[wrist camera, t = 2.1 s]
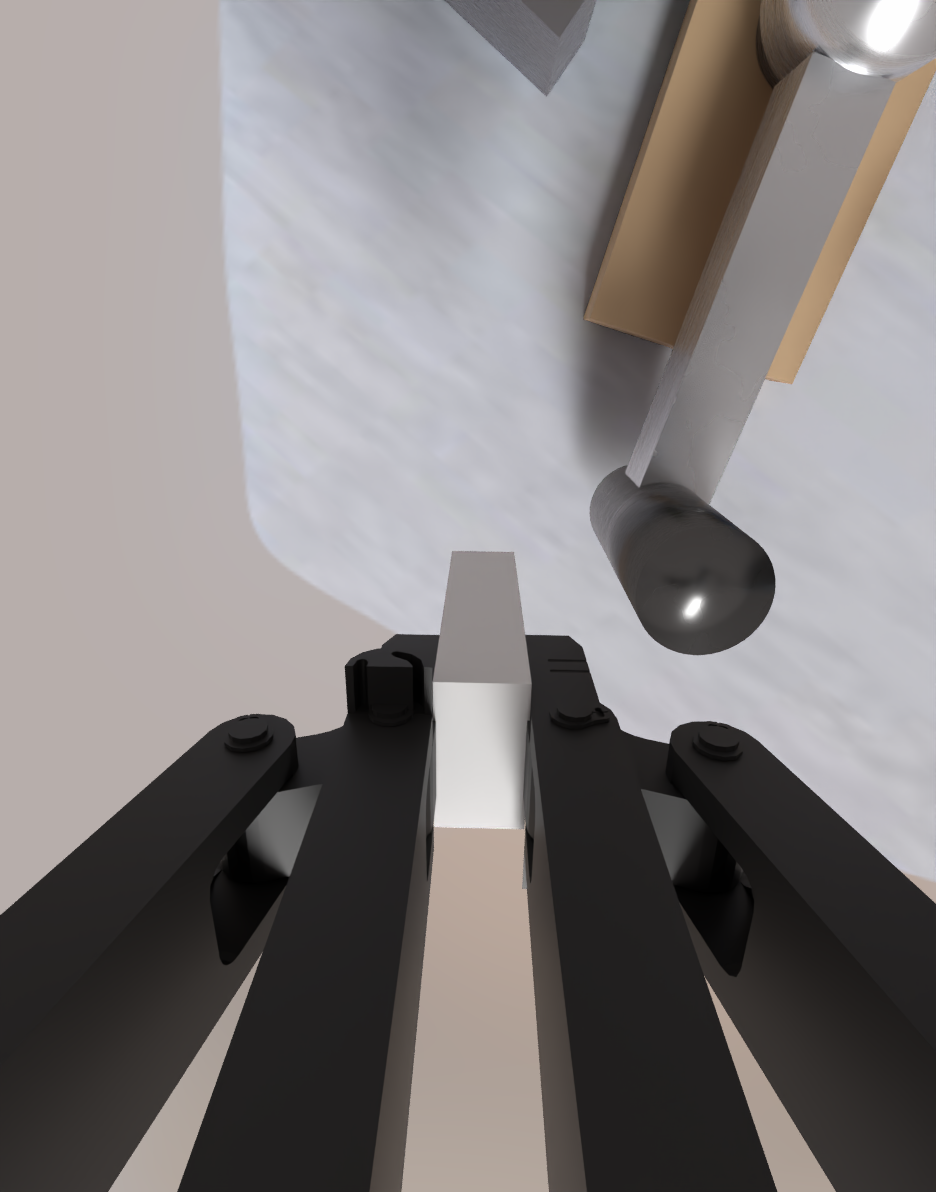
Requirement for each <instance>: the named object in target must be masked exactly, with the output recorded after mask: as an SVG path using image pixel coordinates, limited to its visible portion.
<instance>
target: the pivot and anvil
mask: <svg viewBox="0 0 936 1192" xmlns="http://www.w3.org/2000/svg"><path fill="white" fill-rule="evenodd" d="M445 1H446V2H447V3H448V4H449V5H450V6H451V7H452V8H453V9H454V10H455V11H457V12H458V13H459V14H460V15H461V16H462V17H463V18H464V19H465V20H466V21H467V22H468V23H469V24H470V25H471V26H472V27H473V28H475V29H476V30H477V31H478V32H479V33H480V34H481V35H482V36H483V37H484V38H485V39H486V40H487V41H488V42H489V43H490V44H492V45H493V46H494V47H495V48H496V49H497V50H498V51H499V52H500V53H501V54H502V55H503V56H504V57H505V58H506V59H507V60H508V61H510V62H511V63H512V64H513V65H514V66H515V67H516V68H517V69H518V70H519V71H520V72H521V73H522V74H523V75H524V76H525V77H526V78H528V79H529V80H530V81H531V82H532V83H533V84H534V85H535V86H536V87H537V88H538V89H539V90H540V91H541V92H542V93H543V94H544V95H546V96H547V95H548V94H549V92H550V91H551V89H552V88H553V86H554V85H555V83H556V82H557V80H558V79H559V77H560V76H561V74H562V73H563V71H564V70H565V68H566V67H567V65H568V64H569V62H570V61H571V59H572V58H573V56H574V55H575V53H576V52H577V50H578V49H579V48H580V46H581V45H582V43H583V42H584V39H585V36H586V33H587V29H588V26H589V23H590V20H591V16H592V13H593V10H594V7H595V3H596V0H445ZM756 52H757V59H758V63H759V66H760V69H761V71H762V74H763V76H764V78H765V79H766V81H767V83H768V84H769V85H770V87H771V88H772V89H774V87H775V85H776V84H778V83H779V82H780V81H779V79H778V78H777V77H776V75H775V74H774V72H773V70H772V68H771V66H770V65H769V62H768V60H767V57H766V54H765V51H764V47H763V43H762V38H761V30H760V15H759V19H758V24H757V31H756Z"/></svg>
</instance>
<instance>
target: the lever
mask: <svg viewBox="0 0 936 1192" xmlns="http://www.w3.org/2000/svg"><path fill="white" fill-rule="evenodd" d="M760 30H761V38H762V43H763V47H764V51H765V54H766V57H767V60H768V62H769V65H770V66H771V68H772V70H773V72H774V74H775V75H776V77H777V78H778V79H779V81H780V82H779V83H778V84H776V85H775V87H774V89H773V92H772V94H771V97H770V99H769V102H768V105H767V107H766V110H765V112H764V115H763V118H762V120H761V123H760V125H759V128H758V130H757V133H756V136H755V138H754V141H753V143H752V146H751V149H750V151H749V154H748V156H747V159H746V161H745V164H744V167H743V169H742V172H741V174H740V177H739V180H738V182H737V185H736V187H735V190H734V192H733V195H732V198H731V200H730V203H729V205H728V208H727V210H726V213H725V216H724V218H723V221H722V223H721V226H720V229H719V231H718V234H717V236H716V239H715V241H714V244H713V247H712V249H711V252H710V254H709V257H708V260H707V262H706V265H705V267H704V270H703V272H702V275H701V278H700V280H699V283H698V285H697V288H696V290H695V293H694V296H693V298H692V301H691V303H690V306H689V309H688V311H687V314H686V316H685V319H684V321H683V324H682V327H681V329H680V332H679V334H678V337H677V340H676V342H675V345H674V347H673V350H672V352H671V355H670V358H669V360H668V363H667V365H666V368H665V370H664V373H663V376H662V378H661V381H660V383H659V386H658V389H657V391H656V394H655V396H654V399H653V401H652V404H651V407H650V409H649V412H648V414H647V417H646V420H645V422H644V425H643V427H642V430H641V432H640V435H639V438H638V440H637V443H636V445H635V448H634V451H633V453H632V456H631V458H630V461H629V463H628V465H626V466H623V467H621V468H618V469H616V470H615V471H613V472H612V473H610V474H609V475H608V476H606V477H605V478H604V479H603V480H602V482H601V483H600V484H599V485H598V487H597V489H596V490H595V492H594V495H593V497H592V500H591V505H590V520H591V524H592V527H593V530H594V532H595V534H596V536H597V538H598V540H599V542H600V544H601V546H602V548H603V549H604V551H605V553H606V555H607V557H608V559H609V561H610V563H611V565H612V567H613V569H614V571H615V573H616V575H617V577H618V579H619V581H620V583H621V584H622V586H623V588H624V590H625V592H626V594H627V596H628V598H629V600H630V602H631V604H632V606H633V608H634V610H635V612H636V614H637V616H638V618H639V619H640V621H641V623H642V625H643V627H644V628H645V630H646V631H647V632H648V634H649V635H650V636H651V637H652V638H653V639H654V640H655V641H657V642H658V643H659V644H661V645H662V646H664V647H666V648H668V649H670V650H673V651H676V652H679V653H683V654H690V655H706V654H713V653H717V652H721V651H723V650H726V649H729V648H731V647H733V646H735V645H737V644H739V643H740V642H742V641H743V640H745V639H746V638H747V637H749V636H750V635H751V634H752V633H753V632H754V631H755V630H756V629H757V628H758V627H759V626H760V624H761V623H762V622H763V620H764V619H765V617H766V616H767V614H768V612H769V610H770V607H771V605H772V602H773V598H774V594H775V574H774V569H773V566H772V563H771V561H770V559H769V557H768V555H767V554H766V552H765V551H764V549H763V548H762V547H761V546H760V545H759V544H758V543H757V542H756V541H755V540H753V539H752V538H751V537H749V536H748V535H747V534H746V533H744V532H743V531H742V530H740V529H739V528H738V527H737V526H735V525H734V524H733V523H732V522H730V521H729V520H728V519H726V518H725V517H724V516H723V515H721V514H720V513H719V512H718V511H716V510H715V509H714V508H712V507H711V506H710V505H709V504H710V502H711V499H712V497H713V495H714V493H715V490H716V488H717V486H718V484H719V481H720V479H721V477H722V475H723V472H724V470H725V468H726V466H727V463H728V461H729V459H730V456H731V454H732V452H733V450H734V447H735V445H736V443H737V441H738V438H739V436H740V434H741V432H742V429H743V427H744V425H745V423H746V420H747V418H748V416H749V414H750V411H751V409H752V407H753V405H754V402H755V400H756V398H757V395H758V393H759V391H760V389H761V386H762V384H763V382H764V380H765V377H766V375H767V373H768V371H769V368H770V366H771V364H772V362H773V359H774V357H775V355H776V353H777V350H778V348H779V346H780V344H781V341H782V339H783V337H784V334H785V332H786V330H787V328H788V325H789V323H790V321H791V319H792V316H793V314H794V312H795V310H796V307H797V305H798V303H799V301H800V298H801V296H802V294H803V292H804V289H805V287H806V285H807V283H808V280H809V278H810V276H811V274H812V271H813V269H814V267H815V264H816V262H817V260H818V258H819V255H820V253H821V251H822V249H823V246H824V244H825V242H826V240H827V237H828V235H829V233H830V231H831V228H832V226H833V224H834V222H835V219H836V217H837V215H838V213H839V210H840V208H841V206H842V203H843V201H844V199H845V197H846V194H847V192H848V190H849V188H850V185H851V183H852V181H853V179H854V176H855V174H856V172H857V170H858V167H859V165H860V163H861V161H862V158H863V156H864V154H865V152H866V149H867V147H868V145H869V142H870V140H871V138H872V136H873V133H874V131H875V129H876V127H877V124H878V122H879V120H880V118H881V115H882V113H883V111H884V109H885V106H886V104H887V102H888V100H889V97H890V95H891V93H892V91H893V88H894V86H895V84H896V83H897V82H899V81H900V80H902V79H903V78H905V77H907V76H908V75H910V74H911V73H913V72H914V71H916V70H918V69H919V68H921V67H922V66H924V65H926V64H927V63H929V62H930V61H932V60H934V59H935V58H936V0H761V5H760Z"/></svg>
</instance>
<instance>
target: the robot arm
mask: <svg viewBox="0 0 936 1192" xmlns="http://www.w3.org/2000/svg"><path fill="white" fill-rule="evenodd" d="M345 677H346V693H347V709H348V714H347V717H346V720H345V722H344V725H343V726H342V727H340V728H338V729H335V730H332V731H329V732H325V733H321V734H317V735H310V736H304V737H298V738H296V735H295V729H294V726H293V725H292V724H291V723H290V722H289V721H287V720H286V719H284V718H281V717H278V716H275V715H262V714H250V715H244V716H240V717H237V718H235V719H232V720H229V721H226V722H224V723H222V724H220V725H219V726H217V727H216V728H214V729H212V730H211V731H209V732H208V733H207V734H206V735H205V736H204V737H203V738H201V739H200V740H199V741H198V742H197V743H196V744H195V745H194V746H192V747H191V748H190V749H189V750H188V751H187V752H186V753H184V754H183V755H182V756H181V757H180V758H179V759H178V760H176V761H175V762H174V763H173V764H172V765H171V766H170V767H168V768H167V769H166V770H165V771H164V772H163V773H162V774H161V775H159V776H158V777H157V778H156V779H155V780H154V781H153V782H151V784H149V785H148V786H147V787H146V788H145V789H144V790H142V791H141V792H140V793H139V794H138V795H137V796H136V797H134V798H133V799H132V800H131V801H130V802H129V803H128V804H126V805H125V806H124V807H123V808H122V809H121V810H120V811H118V812H117V813H116V814H115V815H114V816H113V817H112V818H110V819H109V820H108V821H107V822H106V823H105V824H104V825H103V826H101V827H100V828H99V829H98V830H97V831H96V832H95V833H93V834H92V835H91V836H90V837H89V838H88V839H87V840H86V841H84V842H83V843H82V844H81V845H80V846H79V847H77V848H76V849H75V850H74V851H73V852H72V853H71V854H70V855H68V856H67V857H66V858H65V859H64V860H63V861H62V862H61V863H59V864H58V865H57V866H56V867H55V868H54V869H52V870H51V871H50V872H49V873H48V874H47V875H46V876H45V877H43V878H42V879H41V880H40V881H39V882H38V883H37V884H35V885H34V886H33V887H32V888H31V889H30V890H29V891H27V892H26V893H25V894H24V895H23V896H22V897H21V898H19V899H18V900H17V901H16V902H15V903H14V904H13V905H12V906H10V907H9V908H8V909H7V910H6V911H5V912H4V913H2V914H1V915H0V1192H108V1191H109V1189H110V1188H111V1186H112V1185H113V1183H114V1181H115V1180H116V1178H117V1177H118V1175H119V1174H120V1172H121V1171H122V1169H123V1168H124V1166H125V1165H126V1163H127V1161H128V1160H129V1158H130V1157H131V1155H132V1154H133V1152H134V1151H135V1149H136V1147H137V1146H138V1144H139V1143H140V1141H141V1139H142V1138H143V1137H144V1135H145V1133H146V1132H147V1130H148V1129H149V1127H150V1125H151V1124H152V1123H153V1121H154V1120H155V1118H156V1116H157V1115H158V1113H159V1112H160V1110H161V1109H162V1107H163V1106H164V1104H165V1102H166V1101H167V1099H168V1098H169V1096H170V1094H171V1093H172V1091H173V1090H174V1088H175V1087H176V1085H177V1084H178V1082H179V1081H180V1079H181V1078H182V1076H183V1074H184V1073H185V1071H186V1069H187V1068H188V1067H189V1065H190V1064H191V1062H192V1061H193V1059H194V1057H195V1056H196V1054H197V1053H198V1051H199V1050H200V1048H201V1047H202V1045H203V1043H204V1042H205V1040H206V1039H207V1037H208V1036H209V1034H210V1032H211V1031H212V1029H213V1028H214V1026H215V1025H216V1023H217V1022H218V1020H219V1018H220V1017H221V1015H222V1014H223V1012H224V1011H225V1009H226V1007H227V1006H228V1005H229V1003H230V1001H231V1000H232V998H233V997H234V995H235V994H236V992H237V991H238V989H239V988H240V986H241V984H242V983H243V981H244V980H245V978H246V977H247V975H248V974H249V972H250V970H251V969H252V967H253V966H254V964H255V963H256V961H257V959H258V958H259V956H260V955H261V953H262V952H263V953H262V956H261V958H260V961H259V964H258V967H257V970H256V973H255V975H254V978H253V981H252V984H251V986H250V989H249V992H248V995H247V998H246V1000H245V1003H244V1006H243V1009H242V1012H241V1014H240V1017H239V1020H238V1023H237V1026H236V1029H235V1031H234V1034H233V1037H232V1040H231V1043H230V1046H229V1048H228V1051H227V1054H226V1057H225V1059H224V1062H223V1065H222V1068H221V1071H220V1073H219V1076H218V1079H217V1082H216V1085H215V1087H214V1090H213V1093H212V1096H211V1099H210V1102H209V1104H208V1107H207V1110H206V1113H205V1116H204V1119H203V1121H202V1124H201V1127H200V1130H199V1132H198V1135H197V1138H196V1141H195V1144H194V1147H193V1149H192V1152H191V1155H190V1158H189V1161H188V1163H187V1166H186V1169H185V1172H184V1175H183V1177H182V1180H181V1183H180V1186H179V1189H178V1191H177V1192H401V1189H402V1179H403V1168H404V1157H405V1147H406V1136H407V1126H408V1115H409V1105H410V1094H411V1084H412V1073H413V1063H414V1052H415V1042H416V1041H415V1040H416V1031H417V1020H418V1010H419V999H420V989H421V978H422V968H423V957H424V947H425V936H426V925H427V915H428V905H429V894H430V884H431V873H432V862H433V852H434V829H433V828H434V827H456V828H496V829H524V824H525V822H526V828H525V846H524V865H523V885H522V889H527V894H528V910H529V923H530V937H531V951H532V965H533V977H534V992H535V1005H536V1019H537V1031H538V1044H539V1045H538V1047H539V1061H540V1073H541V1088H542V1101H543V1116H544V1130H545V1142H546V1157H547V1171H548V1183H549V1192H777V1189H776V1187H775V1183H774V1181H773V1178H772V1175H771V1172H770V1169H769V1166H768V1163H767V1160H766V1157H765V1154H764V1151H763V1148H762V1145H761V1143H760V1139H759V1136H758V1133H757V1130H756V1127H755V1124H754V1122H753V1119H752V1116H751V1113H750V1110H749V1107H748V1104H747V1101H746V1098H745V1095H744V1092H743V1089H742V1086H741V1083H740V1080H739V1077H738V1074H737V1071H736V1068H735V1066H734V1063H733V1060H732V1057H731V1054H730V1051H729V1048H728V1045H727V1042H726V1039H725V1036H724V1033H723V1030H722V1027H721V1024H720V1021H719V1018H718V1015H717V1012H716V1009H715V1006H714V1004H713V1001H712V998H711V995H710V992H709V989H708V986H707V983H706V980H705V978H706V979H707V981H708V982H709V984H710V986H711V987H712V989H713V991H714V992H715V994H716V996H717V997H718V999H719V1000H720V1002H721V1004H722V1005H723V1007H724V1009H725V1010H726V1012H727V1014H728V1015H729V1017H730V1018H731V1020H732V1022H733V1023H734V1025H735V1027H736V1028H737V1030H738V1032H739V1033H740V1035H741V1036H742V1038H743V1040H744V1041H745V1043H746V1045H747V1046H748V1048H749V1050H750V1051H751V1053H752V1055H753V1056H754V1058H755V1059H756V1061H757V1063H758V1064H759V1066H760V1068H761V1069H762V1071H763V1073H764V1074H765V1076H766V1078H767V1079H768V1081H769V1082H770V1084H771V1086H772V1087H773V1089H774V1091H775V1092H776V1094H777V1096H778V1097H779V1099H780V1100H781V1102H782V1104H783V1105H784V1107H785V1109H786V1110H787V1112H788V1114H789V1115H790V1117H791V1118H792V1120H793V1122H794V1123H795V1125H796V1127H797V1128H798V1130H799V1132H800V1133H801V1135H802V1137H803V1138H804V1140H805V1141H806V1143H807V1145H808V1146H809V1148H810V1150H811V1151H812V1153H813V1155H814V1156H815V1158H816V1159H817V1161H818V1163H819V1164H820V1166H821V1168H822V1169H823V1171H824V1173H825V1174H826V1176H827V1177H828V1179H829V1181H830V1182H831V1184H832V1186H833V1187H834V1189H835V1191H836V1192H936V904H935V903H934V902H933V901H932V900H931V899H930V898H929V897H928V896H927V895H925V894H924V893H923V892H922V891H921V890H920V889H919V888H918V887H917V886H916V885H915V884H914V883H913V882H911V881H910V880H909V879H908V878H907V877H906V876H905V875H904V874H903V873H902V872H901V871H899V870H898V869H897V868H896V867H895V866H894V865H893V864H892V863H891V862H890V861H889V860H887V859H886V858H885V857H884V856H883V855H882V854H881V853H880V852H879V851H878V850H877V849H875V848H874V847H873V846H872V845H871V844H870V843H869V842H868V841H867V840H866V839H865V838H863V837H862V836H861V835H860V834H859V833H858V832H857V831H856V830H855V829H854V828H852V827H851V826H850V825H849V824H848V823H847V822H846V821H845V820H844V819H843V818H842V817H840V816H839V815H838V814H837V813H836V812H835V811H834V810H833V809H832V808H831V807H830V806H828V805H827V804H826V803H825V802H824V801H823V800H822V799H821V798H820V797H819V796H818V795H816V794H815V793H814V792H813V791H812V790H811V789H810V788H809V787H808V786H807V785H806V784H804V783H803V782H802V781H801V780H800V779H799V778H798V777H797V776H796V775H795V774H794V773H792V772H791V771H790V770H789V769H788V768H787V767H786V766H785V765H784V764H783V763H782V762H780V761H779V760H778V759H777V758H776V757H775V756H774V755H773V754H772V753H771V752H770V751H768V750H767V749H766V748H765V747H764V746H763V745H762V744H761V743H760V742H759V741H757V740H756V739H754V738H753V737H752V736H750V735H749V734H747V733H746V732H744V731H741V730H739V729H736V728H734V727H731V726H730V725H727V724H723V723H717V722H711V721H707V722H690V723H686V724H682V725H680V726H678V727H677V728H676V729H675V730H673V731H672V733H671V738H670V744H667V743H662V742H657V741H652V740H648V739H644V738H640V737H637V736H633V735H631V734H629V733H626V732H624V731H622V730H621V729H620V726H619V723H618V720H617V718H616V717H615V715H614V714H613V712H612V711H611V710H610V709H609V708H607V707H606V706H604V705H603V704H601V703H600V702H599V699H598V696H597V693H596V689H595V686H594V683H593V680H592V677H591V673H590V670H589V667H588V664H587V662H586V657H585V654H584V651H583V648H582V646H580V645H579V644H578V643H577V642H575V641H574V640H573V639H572V638H571V637H569V636H551V635H525V630H524V623H523V616H522V608H521V601H520V593H519V586H518V578H517V571H516V564H515V556H514V552H476V551H452V556H451V563H450V570H449V576H448V583H447V590H446V596H445V603H444V610H443V617H442V623H441V630H440V635H406V634H396V635H395V636H393V637H392V638H391V639H389V640H388V641H387V642H386V643H384V644H383V645H382V648H381V649H374V650H370V651H366V652H363V653H361V654H359V655H357V656H355V657H353V658H351V659H350V660H349V662H348V663H347V664H346V665H345ZM433 824H434V825H433ZM704 976H705V977H704Z"/></svg>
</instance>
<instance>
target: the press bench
mask: <svg viewBox="0 0 936 1192" xmlns="http://www.w3.org/2000/svg"><path fill="white" fill-rule="evenodd" d="M760 5H761V0H690V2H689V5H688V8H687V11H686V14H685V17H684V20H683V23H682V26H681V29H680V32H679V35H678V38H677V41H676V44H675V47H674V50H673V53H672V56H671V58H670V61H669V64H668V67H667V70H666V73H665V76H664V79H663V82H662V85H661V88H660V91H659V94H658V97H657V100H656V103H655V106H654V109H653V112H652V115H651V118H650V121H649V124H648V127H647V130H646V133H645V136H644V139H643V142H642V145H641V148H640V151H639V154H638V157H637V160H636V163H635V166H634V169H633V172H632V175H631V178H630V181H629V184H628V187H627V190H626V193H625V196H624V199H623V202H622V205H621V208H620V211H619V214H618V217H617V220H616V223H615V226H614V229H613V232H612V235H611V238H610V240H609V243H608V246H607V249H606V252H605V255H604V258H603V261H602V264H601V267H600V270H599V273H598V276H597V279H596V282H595V285H594V288H593V291H592V294H591V297H590V300H589V303H588V306H587V309H586V312H585V315H584V318H583V319H584V320H587V321H590V322H593V323H596V324H599V325H602V326H605V327H608V328H611V329H614V330H617V331H621V332H624V333H627V334H630V335H633V336H636V337H639V338H642V339H645V340H648V341H651V342H654V343H657V344H660V345H663V346H666V347H669V348H673V347H674V345H675V342H676V340H677V337H678V334H679V332H680V329H681V327H682V324H683V321H684V319H685V316H686V314H687V311H688V309H689V306H690V303H691V301H692V298H693V296H694V293H695V290H696V288H697V285H698V283H699V280H700V278H701V275H702V272H703V270H704V267H705V265H706V262H707V260H708V257H709V254H710V252H711V249H712V247H713V244H714V241H715V239H716V236H717V234H718V231H719V229H720V226H721V223H722V221H723V218H724V216H725V213H726V210H727V208H728V205H729V203H730V200H731V198H732V195H733V192H734V190H735V187H736V185H737V182H738V180H739V177H740V174H741V172H742V169H743V167H744V164H745V161H746V159H747V156H748V154H749V151H750V149H751V146H752V143H753V141H754V138H755V136H756V133H757V130H758V128H759V125H760V123H761V120H762V118H763V115H764V112H765V110H766V107H767V105H768V102H769V99H770V97H771V94H772V92H773V89H772V88H771V87H770V85H769V84H768V83H767V81H766V79H765V78H764V76H763V74H762V71H761V69H760V66H759V63H758V59H757V52H756V31H757V24H758V19H759V15H760ZM935 71H936V58H935V59H934V60H932V61H930V62H929V63H927V64H926V65H924V66H922V67H921V68H919V69H918V70H916V71H914V72H913V73H911V74H910V75H908V76H907V77H905V78H903V79H902V80H900V81H899V82H897V83H896V84H895V86H894V88H893V91H892V93H891V95H890V97H889V100H888V102H887V104H886V106H885V109H884V111H883V113H882V115H881V118H880V120H879V122H878V124H877V127H876V129H875V131H874V133H873V136H872V138H871V140H870V142H869V145H868V147H867V149H866V152H865V154H864V156H863V158H862V161H861V163H860V165H859V167H858V170H857V172H856V174H855V176H854V179H853V181H852V183H851V185H850V188H849V190H848V192H847V194H846V197H845V199H844V201H843V203H842V206H841V208H840V210H839V213H838V215H837V217H836V219H835V222H834V224H833V226H832V228H831V231H830V233H829V235H828V237H827V240H826V242H825V244H824V246H823V249H822V251H821V253H820V255H819V258H818V260H817V262H816V264H815V267H814V269H813V271H812V274H811V276H810V278H809V280H808V283H807V285H806V287H805V289H804V292H803V294H802V296H801V298H800V301H799V303H798V305H797V307H796V310H795V312H794V314H793V316H792V319H791V321H790V323H789V325H788V328H787V330H786V332H785V334H784V337H783V339H782V341H781V344H780V346H779V348H778V350H777V353H776V355H775V357H774V359H773V362H772V364H771V366H770V368H769V371H768V373H767V375H766V377H765V379H767V380H770V381H776V382H782V383H788V384H792V383H793V381H794V379H795V376H796V374H797V372H798V370H799V368H800V366H801V363H802V361H803V359H804V357H805V355H806V352H807V350H808V348H809V346H810V344H811V342H812V339H813V337H814V335H815V333H816V331H817V328H818V326H819V324H820V322H821V320H822V318H823V315H824V313H825V311H826V309H827V307H828V304H829V302H830V300H831V298H832V296H833V294H834V291H835V289H836V287H837V285H838V283H839V280H840V278H841V276H842V274H843V272H844V270H845V267H846V265H847V263H848V261H849V259H850V256H851V254H852V252H853V250H854V248H855V246H856V243H857V241H858V239H859V237H860V235H861V233H862V230H863V228H864V226H865V224H866V222H867V219H868V217H869V215H870V213H871V211H872V209H873V206H874V204H875V202H876V200H877V198H878V195H879V193H880V191H881V189H882V187H883V185H884V182H885V180H886V178H887V176H888V174H889V171H890V169H891V167H892V165H893V163H894V161H895V158H896V156H897V154H898V152H899V150H900V147H901V145H902V143H903V141H904V139H905V137H906V134H907V132H908V130H909V128H910V126H911V123H912V121H913V119H914V117H915V115H916V113H917V110H918V108H919V106H920V104H921V102H922V99H923V97H924V95H925V93H926V91H927V89H928V86H929V84H930V82H931V80H932V78H933V75H934V73H935Z"/></svg>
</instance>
